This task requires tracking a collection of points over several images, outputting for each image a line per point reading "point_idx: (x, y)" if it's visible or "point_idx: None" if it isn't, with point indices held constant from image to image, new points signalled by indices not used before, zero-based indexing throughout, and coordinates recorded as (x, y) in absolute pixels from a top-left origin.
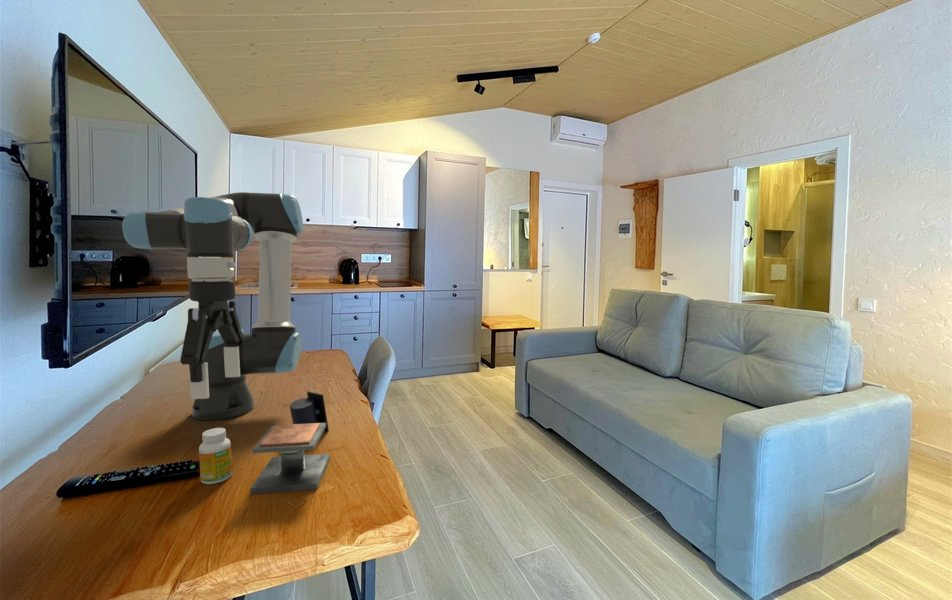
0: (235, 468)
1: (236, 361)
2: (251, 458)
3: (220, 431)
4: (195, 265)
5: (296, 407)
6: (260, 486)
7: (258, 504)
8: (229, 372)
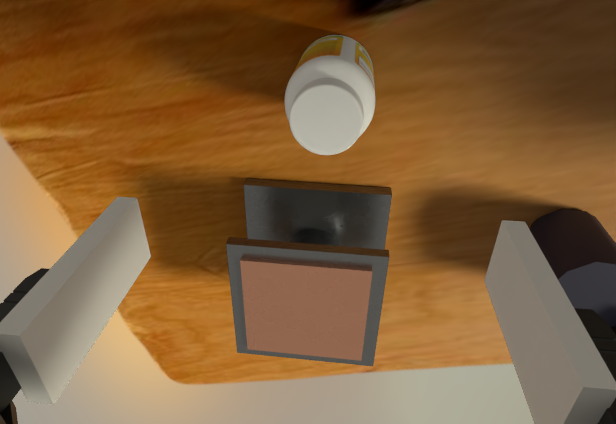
0: (379, 104)
1: (512, 347)
2: (432, 129)
3: (324, 142)
4: None
5: (568, 282)
6: (248, 203)
7: (209, 202)
8: (503, 260)
